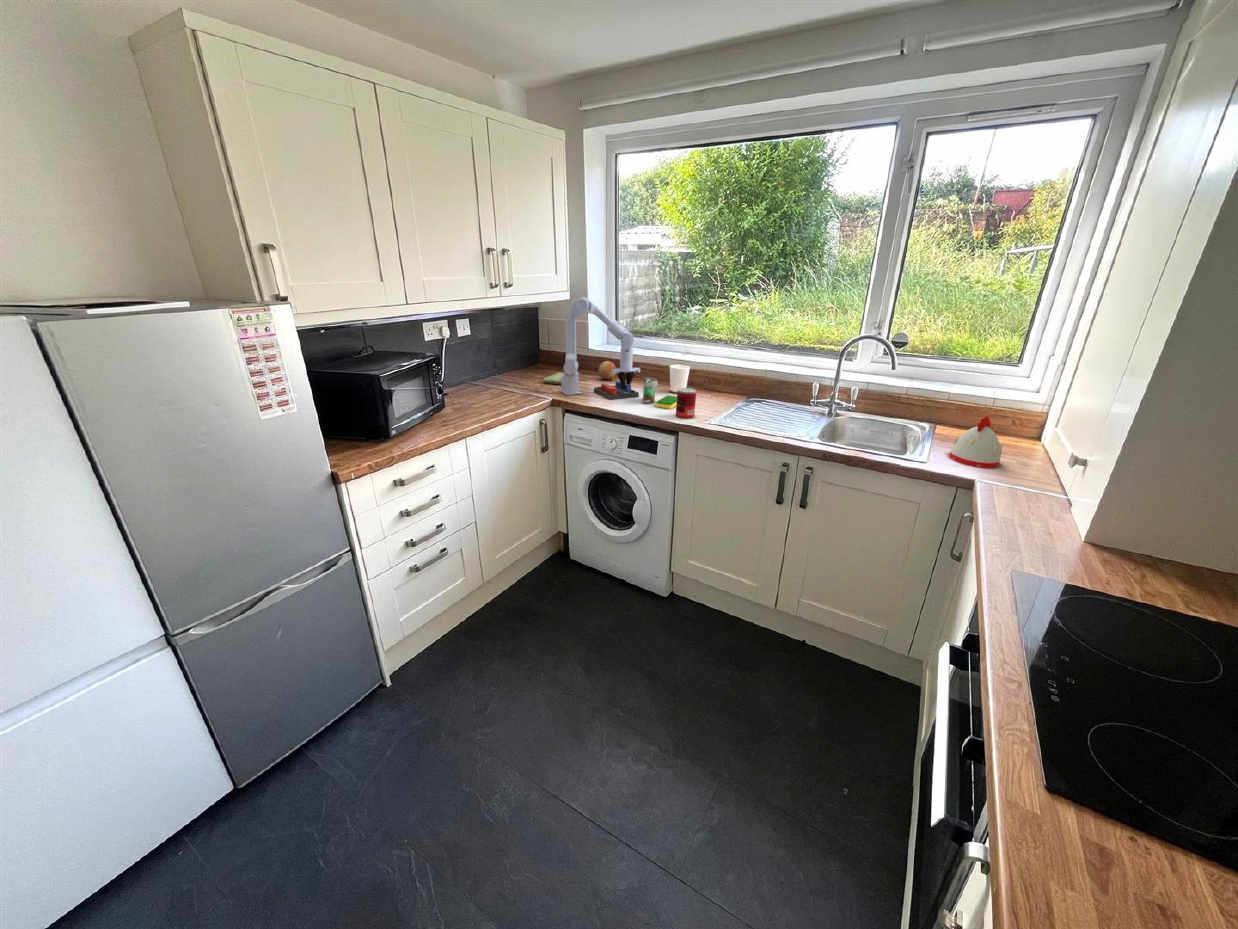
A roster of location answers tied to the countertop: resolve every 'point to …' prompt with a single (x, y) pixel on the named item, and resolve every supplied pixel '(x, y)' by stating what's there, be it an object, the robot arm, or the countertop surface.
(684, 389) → the canned food
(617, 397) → the tray
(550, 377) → the washcloth
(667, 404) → the dish sponge
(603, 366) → the onion
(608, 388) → the red rectangular block
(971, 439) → the kitchen timer
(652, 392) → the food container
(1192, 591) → the countertop surface
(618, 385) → the blue rectangular block
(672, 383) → the cup
